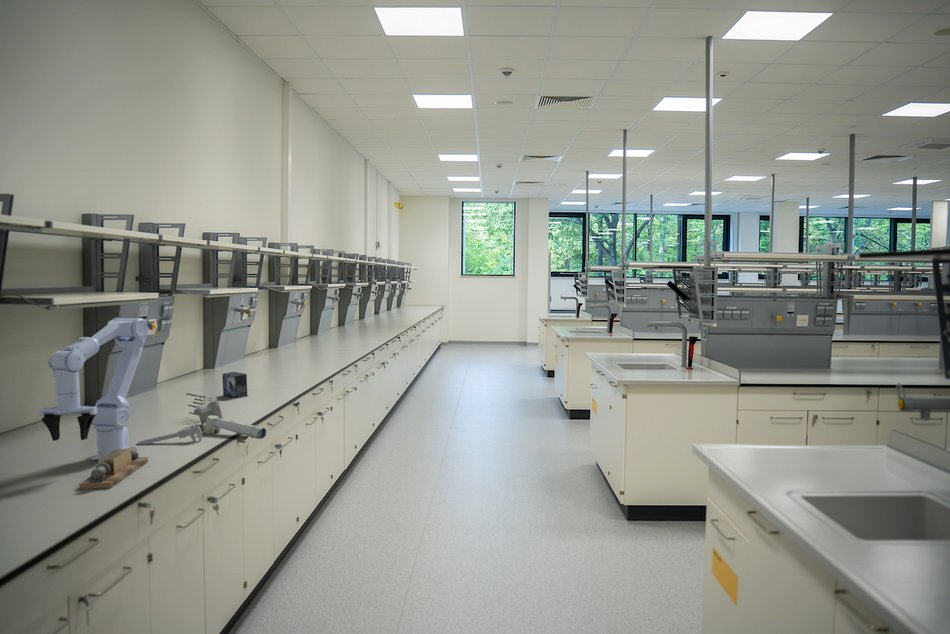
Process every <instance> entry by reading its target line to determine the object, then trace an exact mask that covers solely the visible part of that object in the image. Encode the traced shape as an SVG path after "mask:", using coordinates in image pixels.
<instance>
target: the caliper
mask: <svg viewBox="0 0 950 634" xmlns="http://www.w3.org/2000/svg"><path fill="white" fill-rule="evenodd" d="M191 426H192V427H189V428H185V429H181V430H178V431H177V432H172V433H167V434H164V435H159V436H154V437H150V438H145V439H141V440H139V442H136V443H135V444H138V445H140V444H143V445H149V444H153V443H157V442H161V441H166V440H170V439H176V438H179V439H183V438H184V439H186V438H187V437H188V436H189V437H190V438H191V439H192V441H193V442H194V441H196V442H197V439H196V435H197V437H198V441H199V442H201V441H202V440H203V439H202V438H203V437H202V436H203V435H202V434H203V432H202V428H201V427H200V426H199V425H198V423H195V425H194V424H192V425H191ZM195 434H196V435H195Z"/></svg>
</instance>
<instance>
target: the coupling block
mask: <svg viewBox="0 0 950 634" xmlns="http://www.w3.org/2000/svg"><path fill="white" fill-rule="evenodd" d="M129 448H130V447H129ZM100 463H107V464H108V465H109V466H110V469H111V470H110V473H109V474H108V475H115V474H117V473H118V472H120V471H121V470H123V469H124V468H126V467H127V466H129V465H130V464H132V459H131V448H130V449H116V450H114V451H112V452H110V453H109V454H107V455H105V456H104V457H102V458H100V459H99V460H98V465H99V464H100Z"/></svg>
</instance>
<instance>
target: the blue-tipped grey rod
mask: <svg viewBox="0 0 950 634" xmlns="http://www.w3.org/2000/svg"><path fill="white" fill-rule="evenodd" d="M202 427H203V432H204V434H207V435H210V434H212V435H215V434H216V435H217V434H219V433H220V432H221V431H220V430H227V431H229V432H233V433H236V434H240V435H244V436H247V437H249V438H251V439H259V440H261V439H263V438H264V439H265V437H266V436H267V429H266V428H265V427H261V426H258V424H255V425H253V424H248V423H243V422H239V421H234V420H228V419H224V418H223V419H219V418H218V417H217V416H213V415H212V416H208V417H207V419H206V423H204V424H203V426H202Z"/></svg>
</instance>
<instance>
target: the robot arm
mask: <svg viewBox="0 0 950 634" xmlns="http://www.w3.org/2000/svg"><path fill="white" fill-rule="evenodd" d="M149 331H150V330H149V327H148V324H147V322H146V320H145V319H144V318H143V317H137V318H136V317H135V318H133V317H132V318H129V317H128V318H127V317H122V318H120V317H114V318H113V319H111V320H109V321H107V324H106V325H105V326H104V327H103V328H102V329H100V330H98V332H96V333H95V334H93V335H92V336H91V337H89V336H81V337H79V338H78V341H75V343H73V344H71V345H67V346H65V349H63V350H58V351H55V352H53V354H52V355H51V356H50V357H49V361H48V362H47V364H48V367H49V369H50V370H51V372H52V376H53V378H54V388H55V405H56V406H51V407H43V408H39V416H40V417H42V418H41V422H42V423H44V425H45V426H46V428H47V430H48V431H49V433H50V436H51V438H52V442H55V441H58V440H60V437H61V434H60V426H61V425H60V423H61V417H62V416H63V415H64V416H65V415H66V416H67V415H68V416H69V415H70V416H72V415H79V416H77V417H76V418H77V421H78V424H79V430H80V431H79V434H80V435H79V436H80V441H84V440H87V439H88V438H89V437H88V436H89V432H90V429H91V426H93V430H95V432H96V453H97V454H96V455H94V456H93V457H91V461H95V460H99V459H100V458H102V457H104V456H105V455H107V454H109V453H110V452H112V451H114V450H116V449H125V448H130V437H129V430H128V428H127V426H126V425H127V423H128V422H129V420H130V410H131V405H130V403H129V402H128V401H127V400H126V398H127V396H128V392H129V389H130V386H131V384H132V381H133V378H134V376H135V373H136V370H137V368H138V367H137V366H138V364H139V363H140V359H141V356H142V353H143V350H144V346H145V342H146V340H147V337H148V334H149ZM113 339H114V340H115V342H116V343H117V345H118V346H119V347H121V349H122V351H121V353H120V356H119V360H118V362H117V365H116V367H115V370H114V373H113V375H112V378H111V381H110V384H109V387H108V389H107V391H106V394H105V395H104V396H103V397H101V398H99V399H98V400H96V402H95V405H94V406H88V405H81V393H80V391H81V390H80V388H81V387H80V374H79V373H80V371H79V370H81V369H82V368H83V365H84V364H85V362H86V361H87V360H88V359H90V358H91V357H93V356H94V355H96V354H98V352H99V350H100V346H102V345H105V344H107V342H109V341H111V340H113Z"/></svg>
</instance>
